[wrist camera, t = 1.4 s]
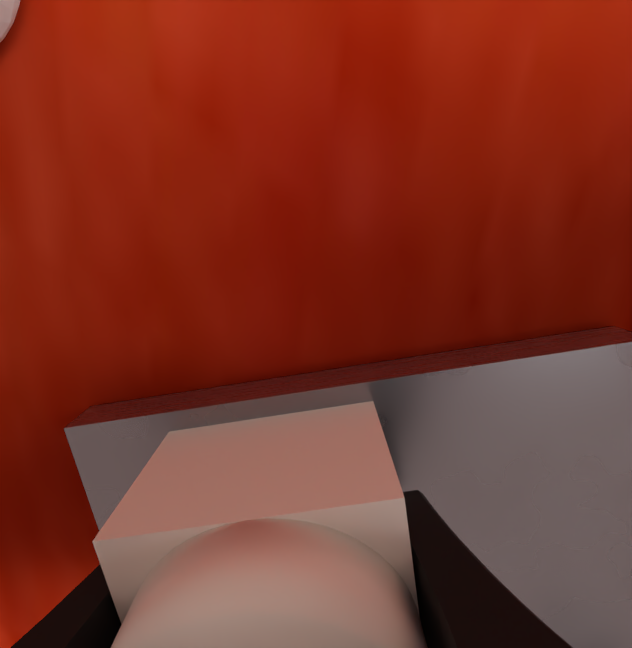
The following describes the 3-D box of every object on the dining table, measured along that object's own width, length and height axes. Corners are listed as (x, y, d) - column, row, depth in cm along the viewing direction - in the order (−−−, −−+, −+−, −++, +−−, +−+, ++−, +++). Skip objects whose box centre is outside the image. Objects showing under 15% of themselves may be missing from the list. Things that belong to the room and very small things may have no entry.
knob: (373, 400, 10) (441, 612, 4) (396, 570, 11) (472, 895, 6) (168, 431, 10) (2, 669, 5) (214, 595, 11) (123, 932, 6)
